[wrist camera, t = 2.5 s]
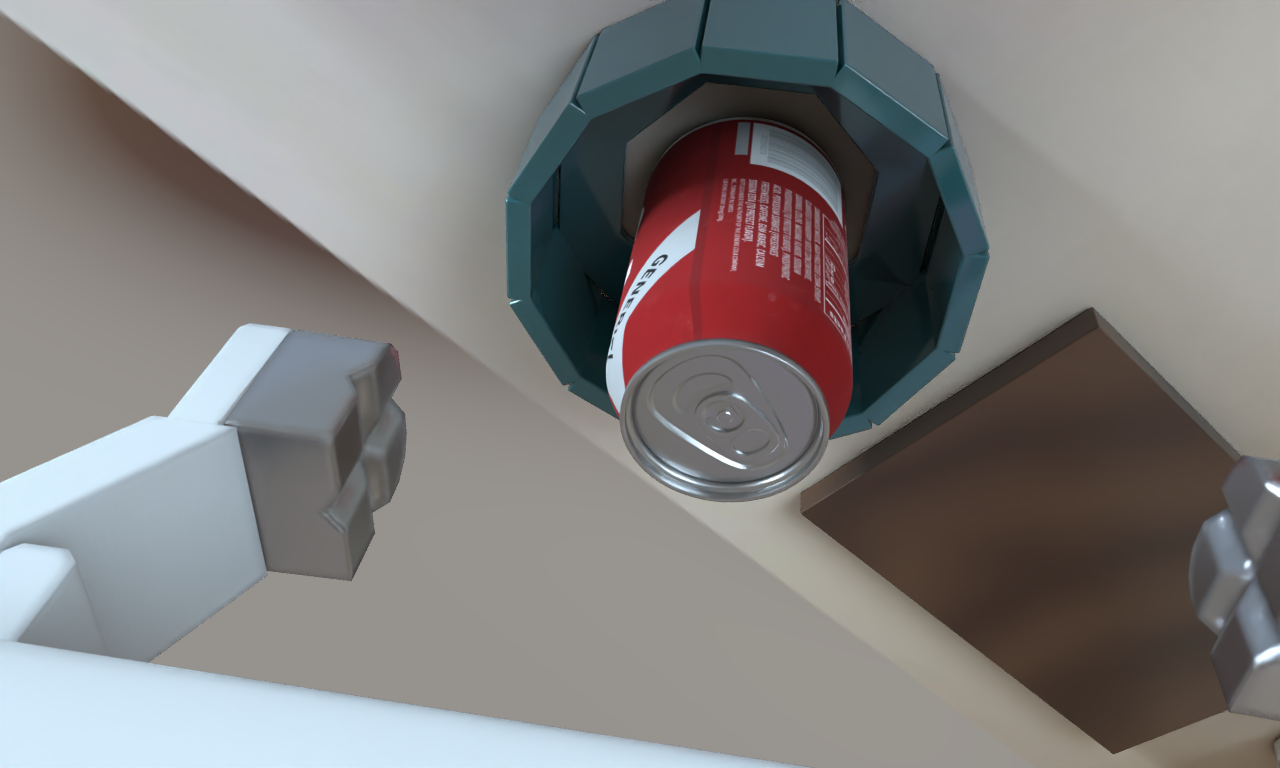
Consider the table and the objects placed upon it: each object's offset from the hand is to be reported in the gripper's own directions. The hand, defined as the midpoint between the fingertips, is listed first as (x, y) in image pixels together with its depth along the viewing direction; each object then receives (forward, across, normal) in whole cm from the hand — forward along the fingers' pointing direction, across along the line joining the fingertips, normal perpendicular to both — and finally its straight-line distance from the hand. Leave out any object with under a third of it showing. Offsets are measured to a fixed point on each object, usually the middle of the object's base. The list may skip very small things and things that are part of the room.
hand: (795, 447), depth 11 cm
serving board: (+27, -16, +26) cm, 41 cm away
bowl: (+26, +1, +11) cm, 28 cm away
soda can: (+26, +1, +11) cm, 28 cm away
